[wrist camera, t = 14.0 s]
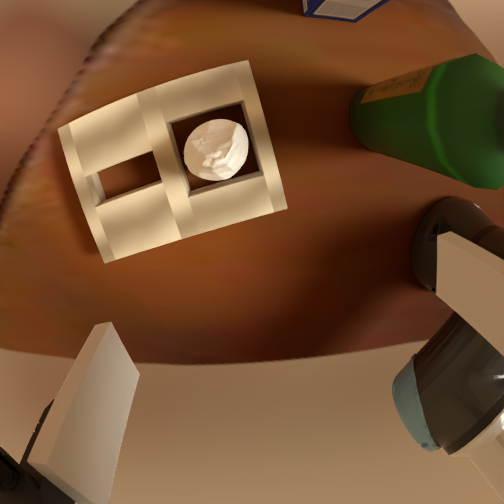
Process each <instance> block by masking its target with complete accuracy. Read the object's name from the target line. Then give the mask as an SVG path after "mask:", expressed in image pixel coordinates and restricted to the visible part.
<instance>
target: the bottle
mask: <svg viewBox="0 0 504 504" xmlns="http://www.w3.org/2000/svg"><path fill="white" fill-rule="evenodd" d="M350 126H351V128H352V130H353V132H354V134H355V136H356V138H357V140H358V142H360V143H361V144H363V145H364V146H365V147H367V148H368V149H369V150H371V151H373V152H376V153H379V154H383V155H386V156H389V157H393V158H396V159H399V160H402V161H405V162H408V163H411V164H414V165H417V166H420V167H423V168H426V169H429V170H431V171H434V172H437V173H440V174H442V175H445V176H448V177H450V178H453V179H455V180H458V181H461V182H463V183H466V184H468V185H470V186H473V187H476V188H484V189H493V190H497V189H498V188H500V187H502V186H503V185H504V68H502V67H501V66H499V65H498V64H496V63H494V62H492V61H490V60H488V59H486V58H484V57H482V56H480V55H478V54H476V53H475V54H471V55H467V56H463V57H459V58H456V59H452V60H448V61H445V62H441V63H438V64H434V65H431V66H428V67H425V68H421V69H418V70H415V71H412V72H409V73H406V74H403V75H400V76H397V77H394V78H391V79H388V80H386V81H383V82H380V83H377V84H374V85H372V86H370V87H367V88H365V89H363V90H361V91H359V92H358V93H357V94H356V96H355V98H354V100H353V101H352V103H351V105H350Z"/></svg>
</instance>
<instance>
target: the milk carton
mask: <svg viewBox="0 0 504 504" xmlns="http://www.w3.org/2000/svg"><path fill="white" fill-rule="evenodd" d="M388 1H390V0H302V4H303V13H304V16H305V17H317V18H326V19H335V20H342V21H349V22H355V23H356V22H357V21H359V20H360V19H362V18H363V17H365V16H366V15H368V14H369V13H371V12H372V11H374V10H375V9H377V8H379V7H380V6H382V5H383V4H385V3H386V2H388Z"/></svg>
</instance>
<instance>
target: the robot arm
mask: <svg viewBox="0 0 504 504" xmlns="http://www.w3.org/2000/svg"><path fill="white" fill-rule="evenodd" d="M411 263H412V268H413V272H414V274H415V277H416V278H417V280H418V281H419V282H420V283H421V284H422V285H423V286H424V287H426V288H427V289H428V290H429V291H431V292H433V293H435V294H436V295H437V296H438V297H440V298H441V299H442V300H443V301H444V302H445V303H446V304H448V305H449V306H450V307H451V308H452V309H453V310H454V312H453V313H452V314H451V315H450V317H449V318H448V319H447V320H446V322H445V323H444V324H443V325H442V326H441V328H440V329H439V330H438V331H437V332H436V333H435V335H434V336H433V337H432V338H431V339H430V340H429V341H428V342H427V343H426V345H424V346H423V348H422V349H421V350H420V351H419V352H418V353H417V354H414V355H413V356H412V357H411V360H410V361H409V362H408V363H407V364H406V366H405V367H404V368H403V369H402V370H401V371H400V372H399V373H398V374H397V376H396V377H395V379H394V381H393V385H392V394H393V400H394V403H395V406H396V409H397V411H398V413H399V415H400V418H401V420H402V422H403V424H404V425H405V427H406V429H407V430H408V432H409V433H410V434H411V436H412V437H413V439H414V440H415V441H416V442H417V443H418V444H421V446H422V448H423V449H425V450H426V451H430V452H431V451H435V450H438V449H440V448H441V447H443V448H444V449H445V451H446V452H447V453H448V455H450V456H466V457H468V458H469V459H470V461H471V462H472V463H473V464H474V466H475V467H476V468H477V470H478V471H479V472H480V473H481V474H482V476H483V477H484V478H485V480H486V481H487V482H488V483H489V485H490V486H491V487H492V489H493V490H494V491H495V492H496V494H497V495H498V496H499V498H500V499H501V500H502V502H503V503H504V229H503V228H501V227H499V226H497V225H496V224H495V223H494V222H493V221H492V220H491V219H490V218H489V217H488V216H487V215H486V214H485V213H484V212H483V211H482V210H481V209H480V207H479V206H477V205H476V204H475V203H473V202H471V201H469V200H466V199H464V198H461V197H448V198H445V199H443V200H441V201H439V202H438V203H436V204H435V205H434V206H433V207H432V208H431V209H430V210H429V211H428V212H427V213H426V215H425V216H424V218H423V219H422V221H421V222H420V224H419V226H418V229H417V231H416V234H415V236H414V240H413V244H412V251H411ZM139 375H140V374H139V372H138V371H137V369H136V367H135V365H134V363H133V362H132V360H131V358H130V356H129V355H128V353H127V351H126V349H125V347H124V345H123V344H122V342H121V340H120V338H119V336H118V334H117V332H116V330H115V328H114V326H113V324H112V322H107V323H102V324H97V325H95V326H94V328H93V330H92V331H91V333H90V335H89V337H88V338H87V340H86V342H85V344H84V345H83V347H82V349H81V351H80V353H79V354H78V356H77V358H76V360H75V362H74V364H73V365H72V367H71V369H70V371H69V373H68V375H67V377H66V379H65V381H64V382H63V384H62V386H61V388H60V390H59V392H58V394H57V396H56V398H55V399H54V400H53V401H52V402H51V403H50V404H49V405H48V406H47V407H46V408H45V410H44V412H43V414H42V416H41V418H40V420H39V423H38V424H37V426H36V428H35V432H34V433H33V435H32V437H31V439H30V441H29V443H28V446H27V448H26V450H25V453H24V455H23V457H22V460H21V462H20V464H18V463H17V462H16V461H15V460H14V459H13V458H12V457H11V456H10V455H9V454H8V453H7V452H6V451H5V450H4V449H2V448H1V447H0V504H75V502H76V503H78V504H109V499H110V494H111V489H112V485H113V480H114V475H115V470H116V466H117V461H118V457H119V452H120V448H121V444H122V439H123V436H124V432H125V427H126V424H127V420H128V416H129V412H130V408H131V405H132V401H133V397H134V393H135V389H136V386H137V382H138V379H139Z"/></svg>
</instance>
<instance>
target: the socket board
mask: <svg viewBox="0 0 504 504" xmlns="http://www.w3.org/2000/svg"><path fill="white" fill-rule="evenodd" d="M237 104H241V106H242V110H243V113H244V117H245V120H246V124H247V128H248V131H249V135H250V139H251V142H252V146H253V150H254V153H255V157H256V161H257V165H258V168H259V171H257V172H253V173H250V174H246V175H242V176H239V177H235V178H232V179H228V180H225V181H221V182H218V183H215V184H211V185H208V186H205V187H201V188H198V189H195V190H192V191H191V189H190V186H189V183H188V179H187V176H186V173H185V170H184V166H183V163H182V160H181V157H180V153H179V150H178V147H177V143H176V140H175V137H174V133H173V130H172V126H171V124H173V123H176V122H179V121H182V120H185V119H188V118H191V117H194V116H198V115H201V114H204V113H208V112H211V111H215V110H219V109H222V108H226V107H230V106H233V105H237ZM58 133H59V136H60V140H61V144H62V147H63V151H64V154H65V157H66V161H67V164H68V167H69V170H70V173H71V177H72V180H73V183H74V186H75V189H76V191H77V194H78V197H79V200H80V203H81V206H82V208H83V211H84V214H85V216H86V219H87V222H88V224H89V227H90V229H91V232H92V234H93V237H94V239H95V242H96V244H97V247H98V249H99V251H100V254H101V256H102V258H103V261H104V263H107V262H110V261H114V260H117V259H120V258H123V257H126V256H129V255H132V254H135V253H138V252H142V251H145V250H148V249H151V248H154V247H158V246H161V245H164V244H167V243H170V242H174V241H177V240H180V239H184V238H187V237H190V236H193V235H197V234H200V233H203V232H207V231H210V230H214V229H217V228H220V227H224V226H227V225H231V224H234V223H237V222H241V221H244V220H248V219H251V218H255V217H258V216H262V215H265V214H269V213H273V212H276V211H280V210H283V209H287V204H286V199H285V195H284V191H283V187H282V183H281V179H280V175H279V171H278V167H277V163H276V159H275V155H274V151H273V147H272V143H271V140H270V136H269V132H268V128H267V125H266V121H265V117H264V113H263V110H262V106H261V103H260V99H259V95H258V92H257V88H256V85H255V81H254V78H253V74H252V71H251V68H250V64H249V61H248V60H246V61H241V62H237V63H233V64H229V65H224V66H220V67H217V68H213V69H209V70H205V71H202V72H198V73H195V74H192V75H188V76H185V77H182V78H179V79H175V80H172V81H169V82H166V83H163V84H160V85H158V86H155V87H152V88H149V89H146V90H144V91H141V92H138V93H136V94H133V95H131V96H128V97H126V98H123V99H121V100H118V101H116V102H113V103H111V104H109V105H107V106H104V107H102V108H100V109H97V110H95V111H93V112H91V113H89V114H87V115H85V116H82V117H80V118H78V119H76V120H74V121H72V122H70V123H68V124H66V125H64V126H62V127H61V128H59V129H58ZM151 151H153V154H154V157H155V160H156V163H157V166H158V170H159V173H160V176H161V179H162V180H159V181H157V182H154V183H151V184H148V185H145V186H142V187H139V188H137V189H134V190H131V191H128V192H126V193H123V194H120V195H118V196H115V197H112V198H110V199H106V196H105V193H104V190H103V187H102V184H101V181H100V178H99V175H98V172H99V171H102V170H104V169H106V168H109V167H111V166H114V165H116V164H119V163H121V162H124V161H127V160H129V159H132V158H134V157H137V156H140V155H143V154H145V153H148V152H151Z"/></svg>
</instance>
